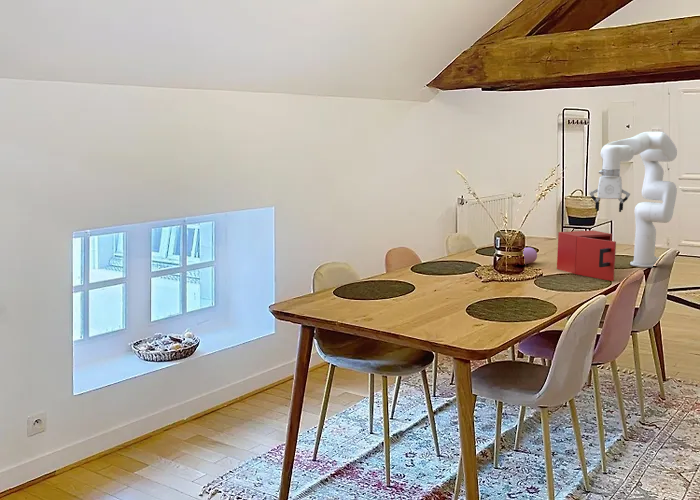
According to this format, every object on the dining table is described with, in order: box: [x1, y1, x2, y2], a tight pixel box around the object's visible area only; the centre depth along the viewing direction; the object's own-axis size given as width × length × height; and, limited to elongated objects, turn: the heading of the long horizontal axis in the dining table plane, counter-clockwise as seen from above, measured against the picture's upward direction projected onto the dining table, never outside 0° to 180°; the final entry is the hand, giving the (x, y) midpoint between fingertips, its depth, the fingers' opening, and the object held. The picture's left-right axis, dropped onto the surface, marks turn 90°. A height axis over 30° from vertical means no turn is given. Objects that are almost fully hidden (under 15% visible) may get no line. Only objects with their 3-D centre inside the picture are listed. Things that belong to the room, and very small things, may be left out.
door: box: [574, 237, 617, 282], centre depth 320 cm, size 7×20×18 cm, turn 35°
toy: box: [523, 247, 538, 265], centre depth 356 cm, size 8×9×20 cm
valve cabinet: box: [556, 230, 613, 275], centre depth 341 cm, size 14×20×18 cm
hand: (608, 211), depth 322 cm, fingers open, 9 cm apart
